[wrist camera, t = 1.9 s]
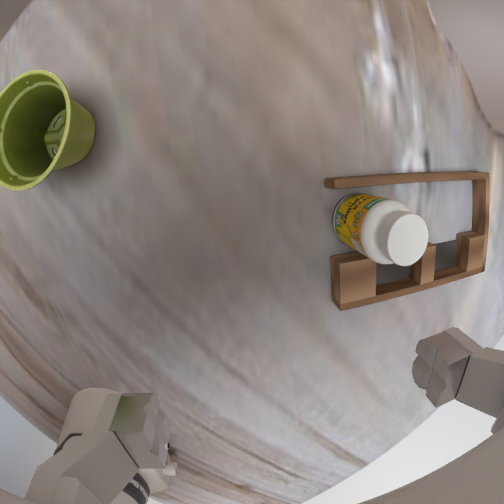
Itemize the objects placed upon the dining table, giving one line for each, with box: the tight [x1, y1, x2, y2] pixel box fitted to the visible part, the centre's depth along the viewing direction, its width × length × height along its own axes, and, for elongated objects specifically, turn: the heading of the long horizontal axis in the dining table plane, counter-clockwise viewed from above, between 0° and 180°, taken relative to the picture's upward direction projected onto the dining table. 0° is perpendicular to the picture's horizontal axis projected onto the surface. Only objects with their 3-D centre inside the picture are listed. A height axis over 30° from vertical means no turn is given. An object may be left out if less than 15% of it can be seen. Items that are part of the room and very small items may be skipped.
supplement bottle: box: [333, 193, 428, 266], centre depth 24 cm, size 5×5×10 cm
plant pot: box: [0, 70, 95, 191], centre depth 19 cm, size 9×9×9 cm
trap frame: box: [325, 171, 489, 311], centre depth 29 cm, size 13×22×2 cm, turn 97°
